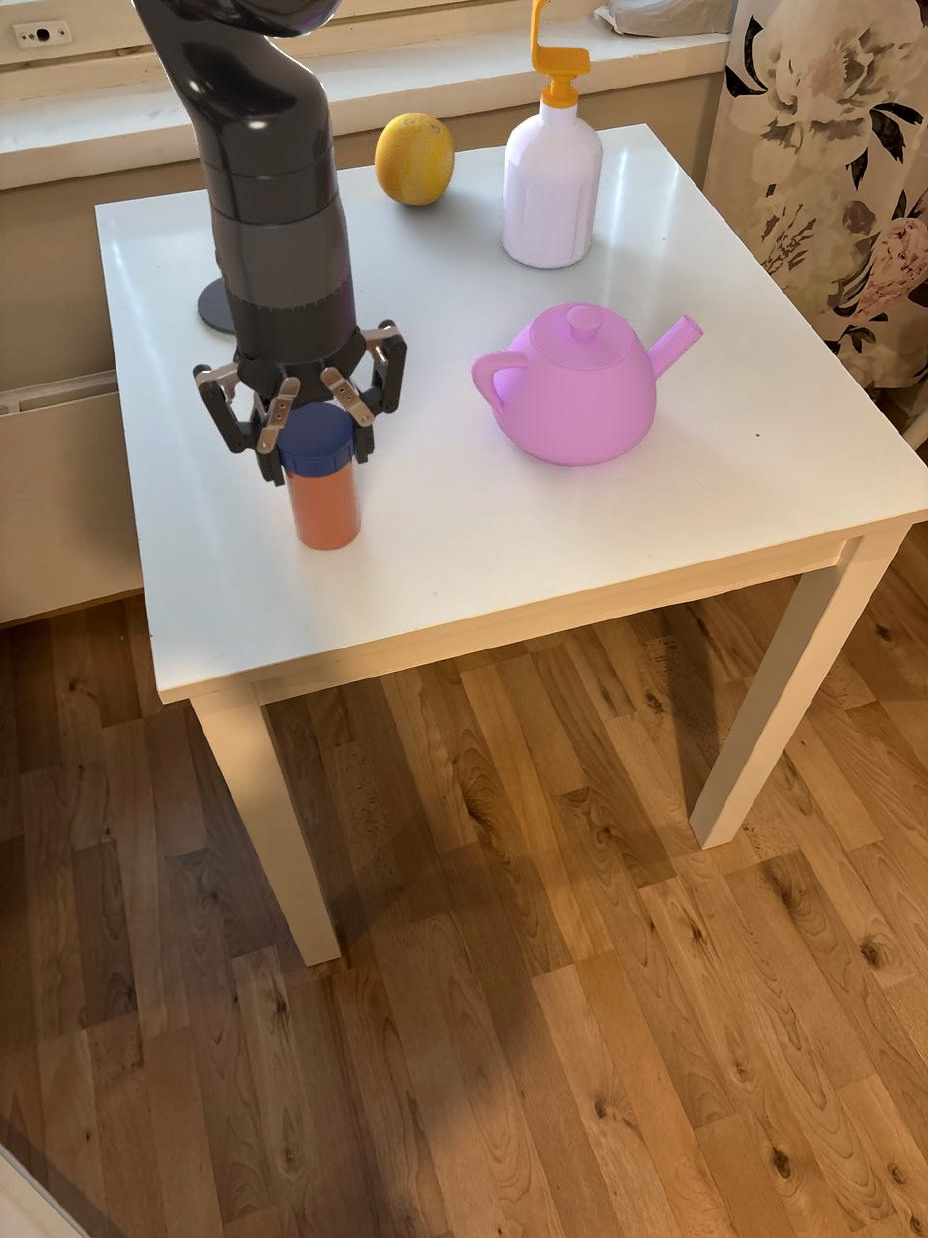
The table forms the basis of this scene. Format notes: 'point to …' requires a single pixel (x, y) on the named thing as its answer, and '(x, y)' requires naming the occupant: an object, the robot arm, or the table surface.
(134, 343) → the table surface
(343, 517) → the jar
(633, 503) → the table surface
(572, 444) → the teapot
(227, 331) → the coaster
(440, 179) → the fruit
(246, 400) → the table surface
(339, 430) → the lid
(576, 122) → the soap bottle
